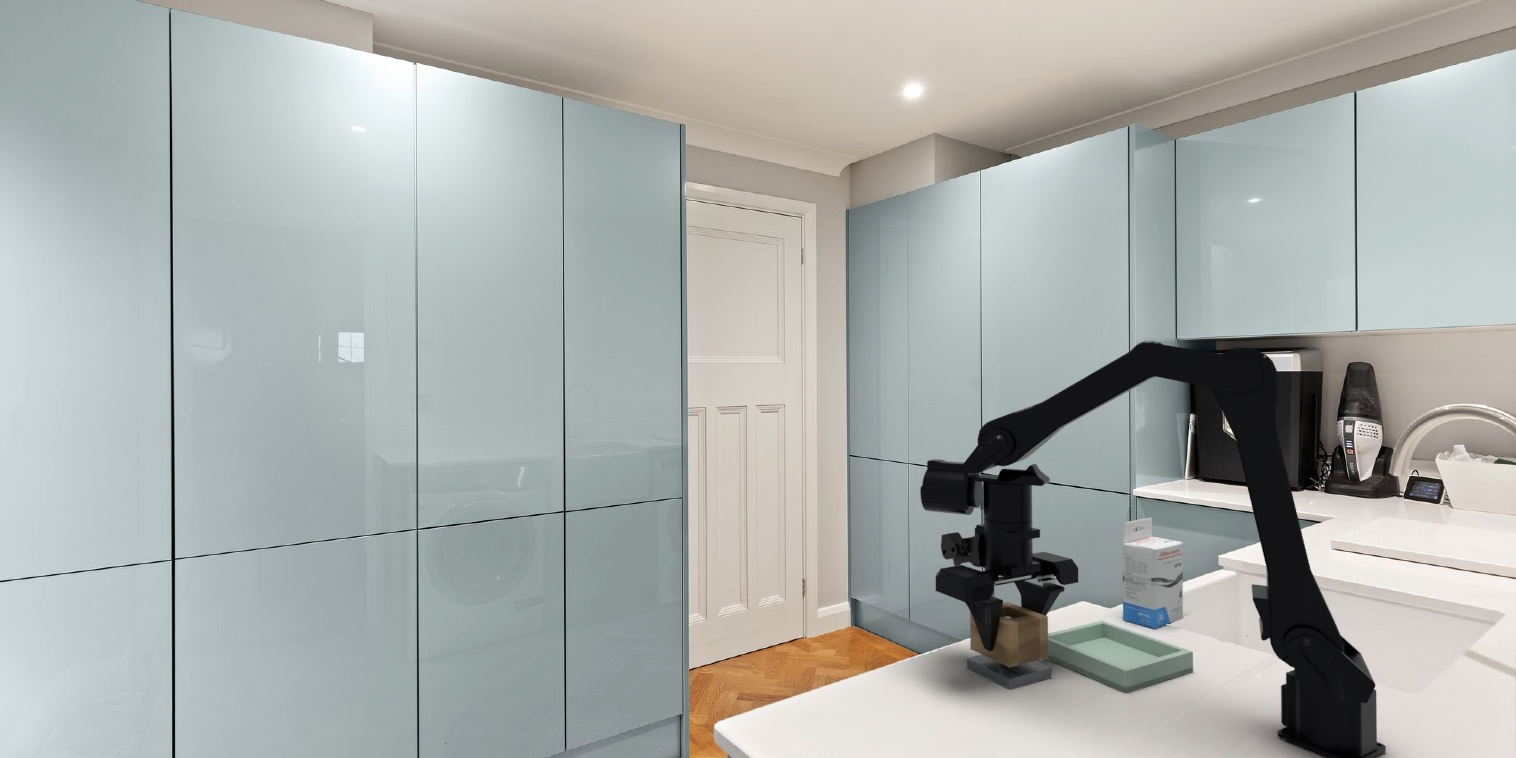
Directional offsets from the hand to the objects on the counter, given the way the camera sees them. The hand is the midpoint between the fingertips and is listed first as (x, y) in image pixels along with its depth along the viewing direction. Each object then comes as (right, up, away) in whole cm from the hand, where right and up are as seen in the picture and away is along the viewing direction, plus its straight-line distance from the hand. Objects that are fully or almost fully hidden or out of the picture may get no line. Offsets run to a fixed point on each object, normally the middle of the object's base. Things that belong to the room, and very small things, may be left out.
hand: (1008, 645), depth 86 cm
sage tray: (+14, -3, +3) cm, 15 cm away
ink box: (+29, -4, +19) cm, 34 cm away
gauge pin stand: (0, -3, 0) cm, 3 cm away
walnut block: (0, -1, 0) cm, 1 cm away
